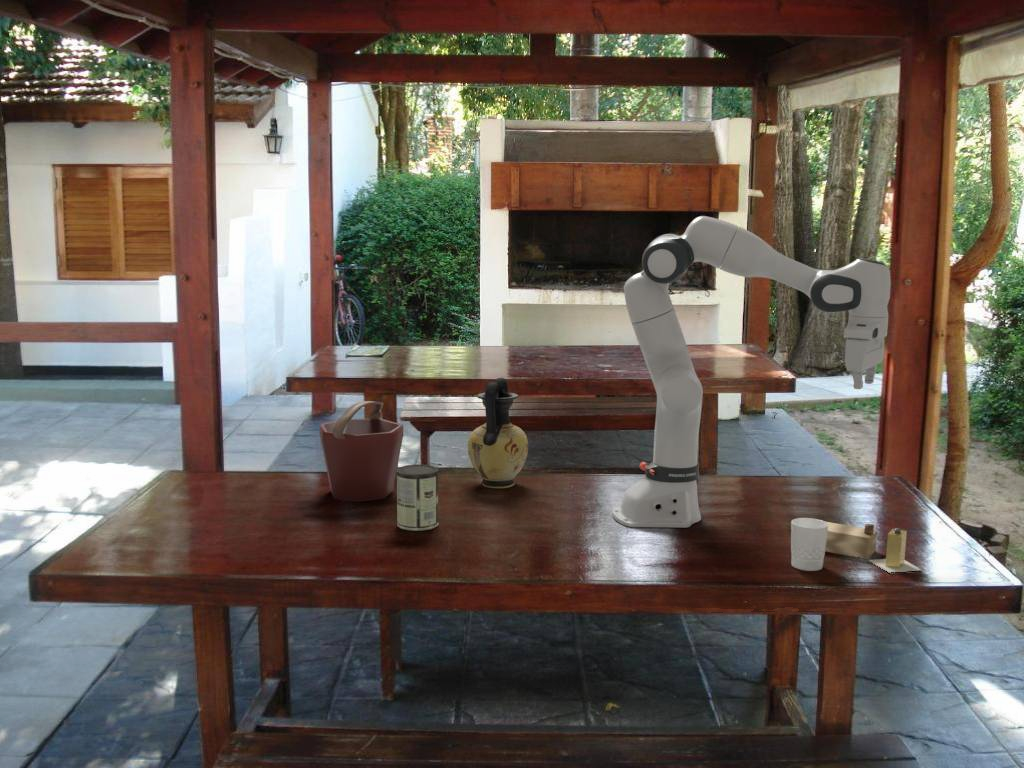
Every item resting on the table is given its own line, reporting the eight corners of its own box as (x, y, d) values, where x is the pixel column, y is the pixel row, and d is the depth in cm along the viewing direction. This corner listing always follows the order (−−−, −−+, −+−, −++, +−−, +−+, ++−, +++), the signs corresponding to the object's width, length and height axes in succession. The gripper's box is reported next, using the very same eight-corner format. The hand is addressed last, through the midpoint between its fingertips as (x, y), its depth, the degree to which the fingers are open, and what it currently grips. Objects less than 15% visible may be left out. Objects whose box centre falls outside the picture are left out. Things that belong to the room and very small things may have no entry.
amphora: (472, 475, 313) (473, 374, 308) (529, 477, 311) (531, 375, 306) (463, 491, 296) (464, 384, 291) (524, 494, 294) (526, 386, 289)
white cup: (783, 560, 242) (786, 517, 241) (817, 560, 243) (820, 517, 241) (795, 572, 235) (798, 528, 233) (830, 572, 235) (833, 528, 234)
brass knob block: (885, 566, 238) (888, 530, 237) (890, 560, 242) (893, 525, 241) (899, 568, 237) (902, 532, 235) (904, 563, 240) (907, 527, 239)
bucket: (364, 477, 309) (364, 392, 304) (423, 490, 296) (423, 401, 292) (301, 495, 289) (300, 404, 285) (361, 510, 276) (360, 415, 272)
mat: (888, 573, 235) (888, 571, 235) (869, 561, 242) (869, 559, 242) (921, 571, 236) (921, 569, 236) (901, 559, 244) (901, 558, 244)
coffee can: (409, 516, 272) (409, 462, 269) (445, 522, 267) (446, 467, 265) (388, 527, 262) (388, 471, 260) (425, 533, 258) (425, 476, 256)
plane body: (806, 547, 252) (808, 519, 250) (816, 540, 257) (817, 512, 256) (867, 559, 244) (869, 529, 243) (875, 551, 250) (877, 522, 249)
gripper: (866, 323, 263) (862, 379, 265) (841, 330, 246) (837, 390, 248) (892, 325, 259) (888, 381, 262) (869, 333, 243) (865, 393, 245)
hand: (863, 386), depth 255 cm, fingers open, 8 cm apart
